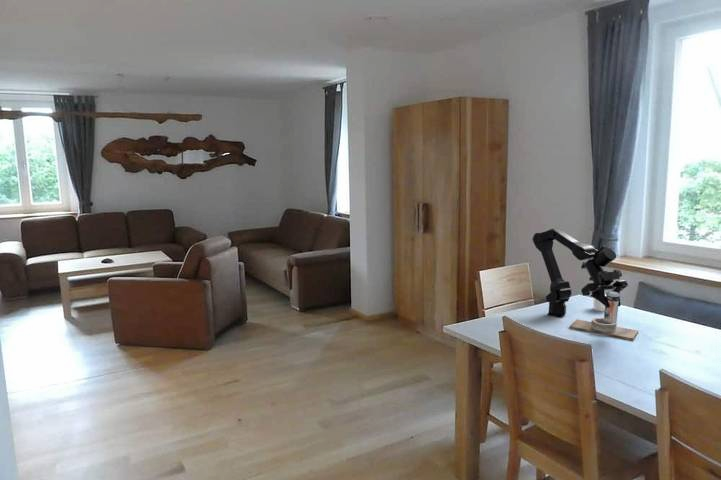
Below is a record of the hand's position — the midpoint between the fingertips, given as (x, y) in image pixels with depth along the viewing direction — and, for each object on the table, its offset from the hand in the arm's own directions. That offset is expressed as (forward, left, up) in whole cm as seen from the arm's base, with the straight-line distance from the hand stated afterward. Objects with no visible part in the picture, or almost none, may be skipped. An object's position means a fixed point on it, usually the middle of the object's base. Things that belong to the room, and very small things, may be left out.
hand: (614, 306), depth 202 cm
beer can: (-1, +1, -7) cm, 7 cm away
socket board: (-5, +6, -13) cm, 15 cm away
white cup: (-13, +36, -13) cm, 40 cm away
